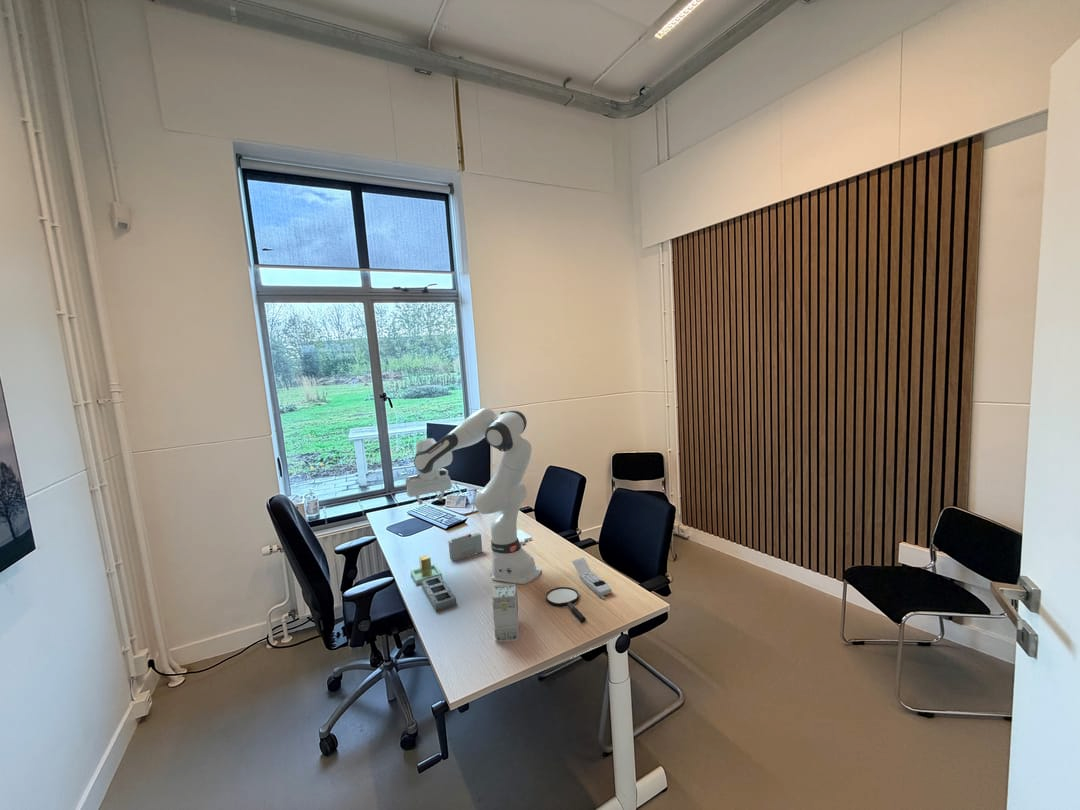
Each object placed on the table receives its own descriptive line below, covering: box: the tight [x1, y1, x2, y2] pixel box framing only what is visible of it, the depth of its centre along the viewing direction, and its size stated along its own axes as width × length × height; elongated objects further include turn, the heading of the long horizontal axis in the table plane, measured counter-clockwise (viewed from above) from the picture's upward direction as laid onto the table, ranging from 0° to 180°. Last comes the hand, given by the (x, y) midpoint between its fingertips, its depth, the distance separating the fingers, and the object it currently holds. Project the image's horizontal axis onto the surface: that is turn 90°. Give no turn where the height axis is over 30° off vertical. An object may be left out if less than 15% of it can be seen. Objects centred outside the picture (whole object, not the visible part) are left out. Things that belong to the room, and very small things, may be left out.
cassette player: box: [447, 532, 483, 562], centre depth 208 cm, size 16×3×10 cm, turn 122°
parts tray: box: [410, 563, 443, 586], centre depth 189 cm, size 11×11×2 cm
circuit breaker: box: [491, 583, 520, 643], centre depth 147 cm, size 8×14×15 cm, turn 2°
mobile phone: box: [572, 557, 612, 600], centre depth 173 cm, size 6×6×25 cm
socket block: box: [421, 575, 458, 613], centre depth 172 cm, size 22×8×3 cm, turn 29°
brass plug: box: [418, 554, 432, 578], centre depth 189 cm, size 4×4×8 cm
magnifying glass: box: [545, 586, 587, 624], centre depth 159 cm, size 12×24×2 cm, turn 21°
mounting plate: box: [517, 529, 533, 546], centre depth 224 cm, size 18×13×2 cm
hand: (430, 502), depth 200 cm, fingers open, 8 cm apart
